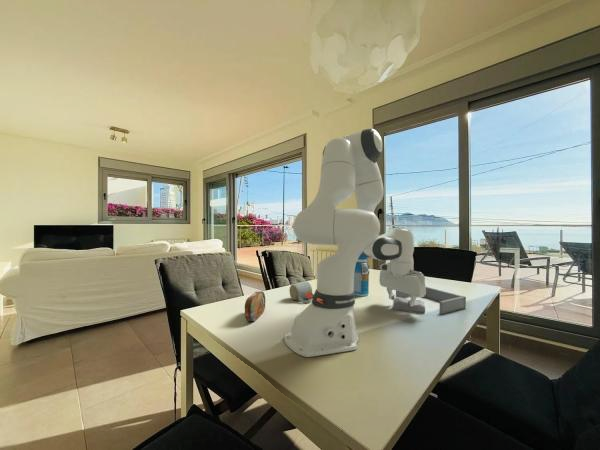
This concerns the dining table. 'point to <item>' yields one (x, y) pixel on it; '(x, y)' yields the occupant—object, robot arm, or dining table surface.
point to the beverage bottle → (361, 277)
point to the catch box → (442, 299)
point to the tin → (254, 306)
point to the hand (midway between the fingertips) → (400, 302)
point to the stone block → (403, 306)
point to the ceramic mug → (300, 291)
